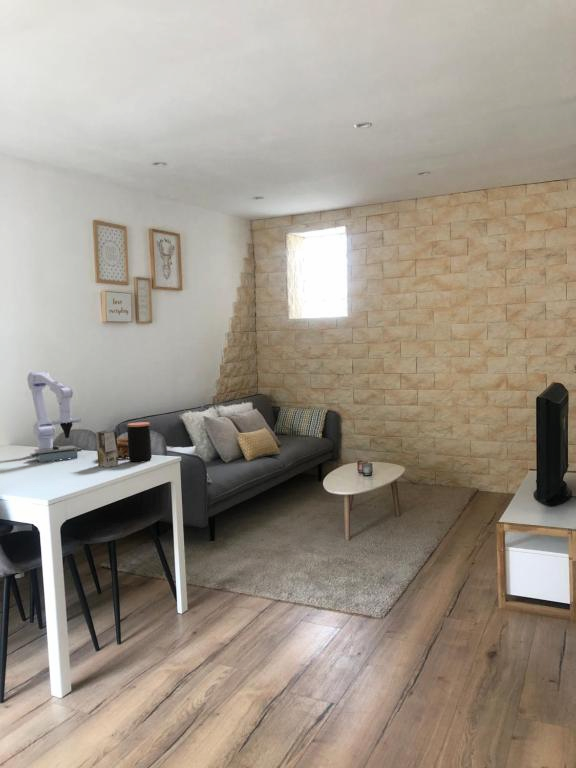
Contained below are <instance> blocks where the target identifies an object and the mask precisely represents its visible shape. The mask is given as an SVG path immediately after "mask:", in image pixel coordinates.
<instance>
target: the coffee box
mask: <svg viewBox="0 0 576 768" xmlns="http://www.w3.org/2000/svg"><path fill="white" fill-rule="evenodd" d="M117 433H118V432H117V431H116V430H108V429H107V430H100V431H96V432H95V438H96V441H95V442H96V452H97V453H96V454H97V465H100V466H99V467H102V466H104V468H111V467H110V466H113V467H117V466H116V465H118V466H119V459H118V450H117V439H118V436H117Z"/></svg>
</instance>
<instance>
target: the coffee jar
mask: <svg viewBox="0 0 576 768" xmlns="http://www.w3.org/2000/svg"><path fill="white" fill-rule="evenodd" d="M126 424H127V425H126V426H127V432H126V433H127V438H128V450H129V458H128V459H129V461H130V462H131V461H132V462H131V463H142V462H141V461H146V462H148V461H147V460H150V459H151V460H152V453H153V452H152V437H151V428H150V425H151V424H150V422H149V421H148V422H147V421H141V422H131V423H126ZM151 460H150V461H151Z"/></svg>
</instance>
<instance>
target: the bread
mask: <svg viewBox="0 0 576 768" xmlns="http://www.w3.org/2000/svg"><path fill="white" fill-rule="evenodd" d="M117 450H118V458H125V459H127V458H126V457H129V450H128V437H117Z"/></svg>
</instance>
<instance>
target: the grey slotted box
mask: <svg viewBox="0 0 576 768" xmlns="http://www.w3.org/2000/svg"><path fill="white" fill-rule="evenodd" d="M79 452H82V448H80V447H78V449H74V450H66V451H57V452H49V453H40V454H39V453H37V452H35V451H34V452H33V453H30V454H29V455H30V457H31V458H35V460H36V459H37V460H38V461H39V463H40V462H43V463H47V462H46V461H51V462H54V461H53V460H59V461H61V460H60V459H67V460H69V459H68V458H75V459H78V458H77V457H78V453H79ZM37 460H36V461H37ZM38 461H37V462H38Z"/></svg>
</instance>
